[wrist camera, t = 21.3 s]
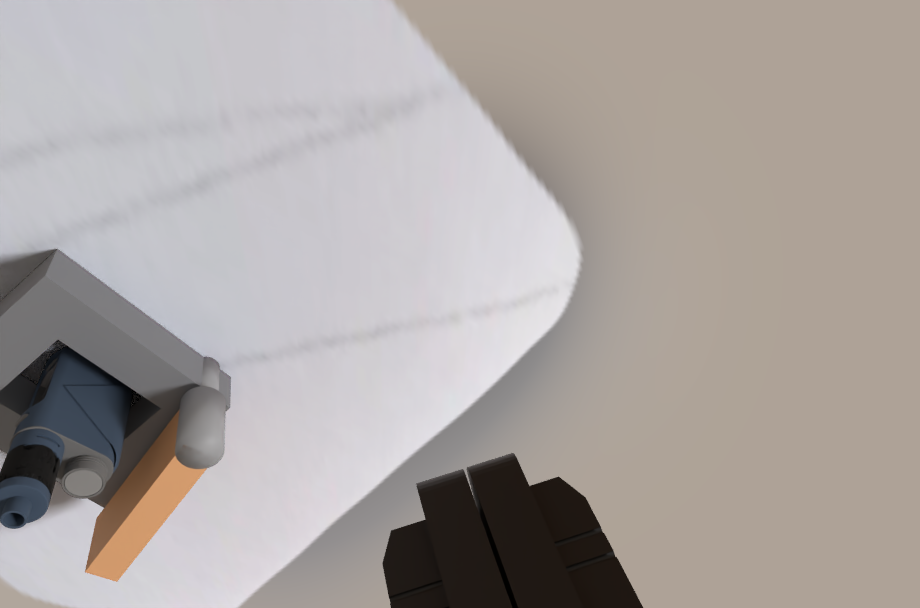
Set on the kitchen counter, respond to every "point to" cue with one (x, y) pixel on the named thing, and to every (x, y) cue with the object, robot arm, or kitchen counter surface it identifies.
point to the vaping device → (64, 438)
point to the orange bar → (159, 482)
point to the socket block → (97, 354)
